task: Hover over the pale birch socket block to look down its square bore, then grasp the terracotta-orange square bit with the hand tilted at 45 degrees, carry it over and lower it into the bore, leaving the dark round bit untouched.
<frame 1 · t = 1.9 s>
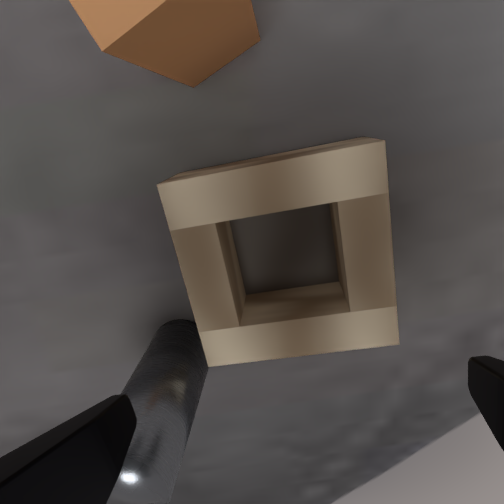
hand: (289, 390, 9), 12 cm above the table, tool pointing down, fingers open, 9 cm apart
square bit: (204, 25, 17), on the table
round bit: (183, 345, 24), on the table
socket block: (283, 242, 21), on the table
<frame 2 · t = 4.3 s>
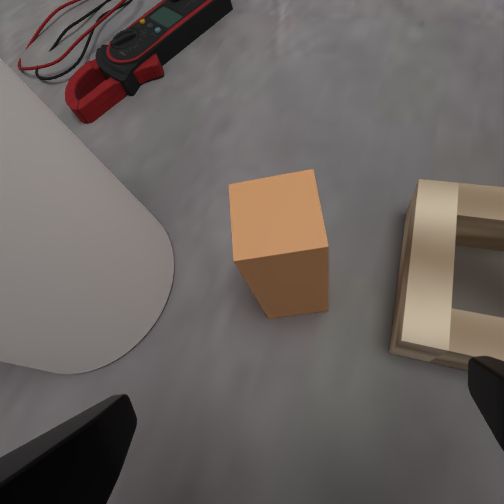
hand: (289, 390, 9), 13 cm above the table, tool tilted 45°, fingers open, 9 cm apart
digital clamp meter: (127, 30, 43), on the table
cylinder: (92, 281, 28), on the table
square bit: (294, 286, 25), on the table
socket block: (483, 292, 22), on the table
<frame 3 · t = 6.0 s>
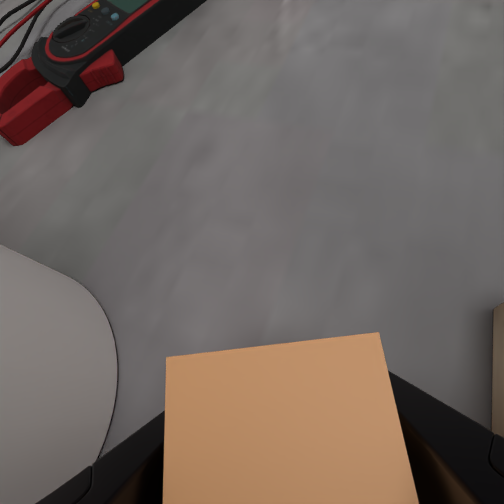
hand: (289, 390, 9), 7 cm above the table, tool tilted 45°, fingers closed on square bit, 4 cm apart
digital clamp meter: (84, 19, 33), on the table
square bit: (309, 437, 15), on the table, touching gripper
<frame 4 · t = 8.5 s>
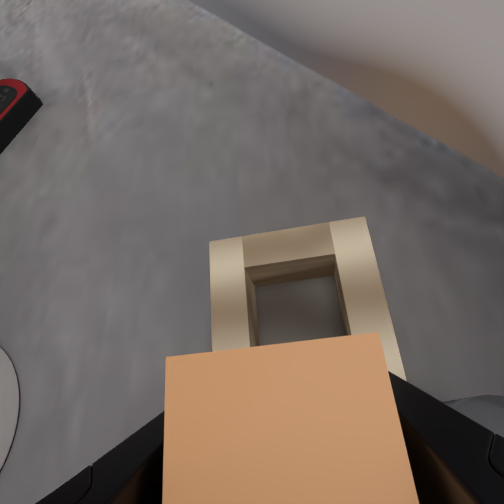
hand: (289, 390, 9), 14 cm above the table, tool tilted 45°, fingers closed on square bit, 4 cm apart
square bit: (309, 437, 15), point 7 cm above the table, touching gripper
round bit: (427, 445, 20), on the table
socket block: (299, 321, 24), on the table
when the fingers open (8 cm above the table, at t = 10.6 s): square bit stays where it is, resting on socket block.
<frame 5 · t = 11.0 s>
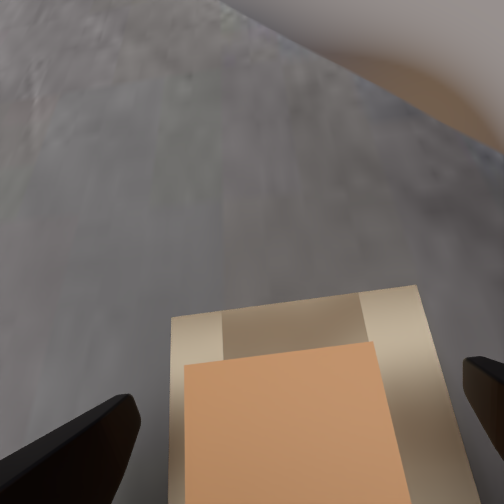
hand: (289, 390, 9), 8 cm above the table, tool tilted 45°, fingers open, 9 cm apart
square bit: (311, 436, 15), resting on socket block
socket block: (310, 435, 16), on the table
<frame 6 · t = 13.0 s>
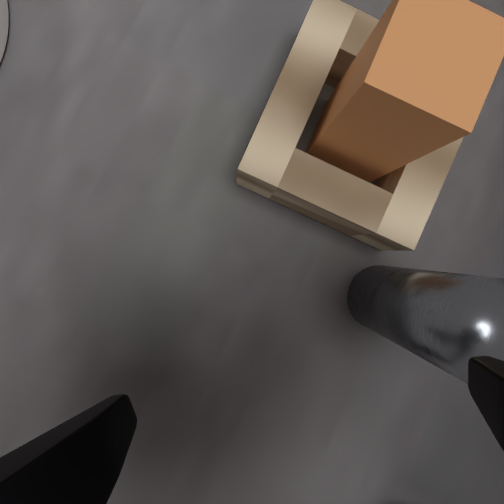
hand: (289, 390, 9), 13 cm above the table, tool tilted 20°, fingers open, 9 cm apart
square bit: (344, 143, 22), resting on socket block
round bit: (378, 297, 22), on the table
socket block: (342, 144, 22), on the table
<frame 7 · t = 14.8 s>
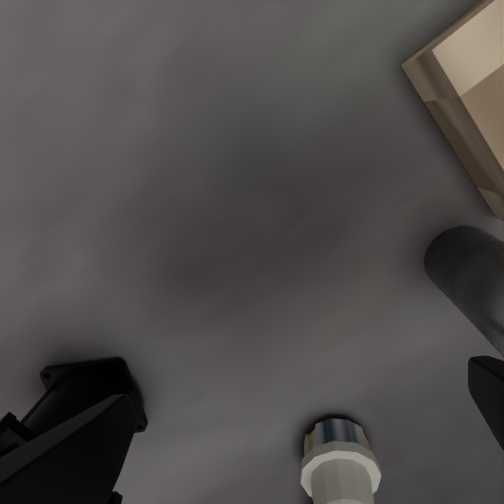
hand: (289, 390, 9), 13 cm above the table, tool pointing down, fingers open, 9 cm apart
round bit: (459, 258, 21), on the table
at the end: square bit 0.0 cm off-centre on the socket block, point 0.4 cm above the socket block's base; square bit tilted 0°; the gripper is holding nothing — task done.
